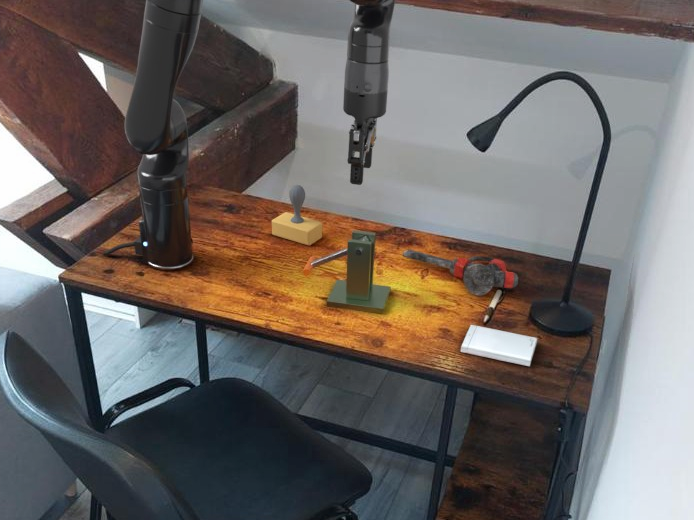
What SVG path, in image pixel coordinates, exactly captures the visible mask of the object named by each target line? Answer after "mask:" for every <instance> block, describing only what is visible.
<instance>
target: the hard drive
mask: <svg viewBox="0 0 694 520" xmlns="http://www.w3.org/2000/svg"><path fill="white" fill-rule="evenodd" d="M537 344H538V337H533V336H529V335H524V334H519V333H515V332H510V331H505V330H500V329H496V328H490V327H485V326H480V325H476V324H470V326H469V328H468V330H467V332H466V334H465V337H464V339H463V341H462V344H461V346H460V352H461V353H464V354H469V355H473V356H478V357H483V358H488V359H493V360H497V361H502V362H506V363H511V364H516V365H520V366H526V367H531V364H532V360H533V357H534V354H535V350H536V348H537Z"/></svg>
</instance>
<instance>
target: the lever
mask: <svg viewBox="0 0 694 520" xmlns="http://www.w3.org/2000/svg"><path fill="white" fill-rule="evenodd" d="M356 240H361V241H369V240H368V238H367V236H363V237H361V238H358V239H356ZM347 249H348V247H346V248H343V249H341V250H338V251H336V252H333V253H331V254H328V255H325V256H323V257H320V258H318V257H316V256H314V255H312V256H310V257H309V258H308V261H307V262H306V264H305V266H304V268H303V269H302V275H303V276H305V277H309V276H310V275H311V273H312V272H313V270H314V269H315V268H318V267H320V266H323V265H325V264H328V263H330V262H333V261H335V260H338V259H341V258H343V257H345V256H346V257H347Z"/></svg>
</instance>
